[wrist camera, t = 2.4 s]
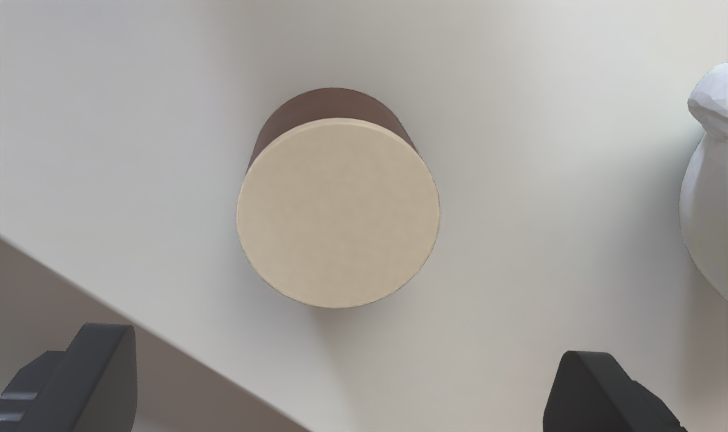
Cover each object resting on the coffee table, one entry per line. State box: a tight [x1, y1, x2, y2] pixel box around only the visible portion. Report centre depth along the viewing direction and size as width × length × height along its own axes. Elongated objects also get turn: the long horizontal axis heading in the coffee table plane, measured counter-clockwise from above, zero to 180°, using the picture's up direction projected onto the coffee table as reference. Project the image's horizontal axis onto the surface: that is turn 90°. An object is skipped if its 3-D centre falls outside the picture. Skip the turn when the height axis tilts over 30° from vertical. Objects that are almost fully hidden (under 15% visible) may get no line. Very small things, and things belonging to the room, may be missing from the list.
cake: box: [236, 88, 440, 308], centre depth 18 cm, size 6×6×5 cm
